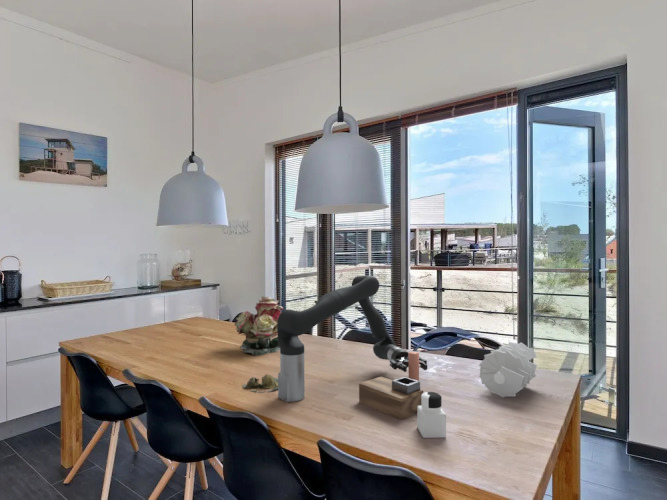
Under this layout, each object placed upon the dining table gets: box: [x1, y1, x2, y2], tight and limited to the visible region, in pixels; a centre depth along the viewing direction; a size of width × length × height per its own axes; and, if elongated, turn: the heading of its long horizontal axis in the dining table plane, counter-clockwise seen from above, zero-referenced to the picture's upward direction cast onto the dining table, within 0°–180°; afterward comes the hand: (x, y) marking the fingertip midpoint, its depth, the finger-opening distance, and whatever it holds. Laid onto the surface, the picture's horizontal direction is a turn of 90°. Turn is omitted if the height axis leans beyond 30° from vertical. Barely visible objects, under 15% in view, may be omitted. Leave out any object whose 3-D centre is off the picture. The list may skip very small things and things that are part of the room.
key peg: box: [408, 351, 420, 381], centre depth 156 cm, size 4×4×16 cm
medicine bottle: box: [416, 391, 447, 439], centre depth 123 cm, size 7×7×12 cm
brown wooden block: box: [358, 376, 424, 421], centre depth 144 cm, size 12×20×10 cm, turn 40°
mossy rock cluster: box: [242, 373, 278, 394], centre depth 167 cm, size 18×18×5 cm
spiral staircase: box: [478, 341, 538, 399], centre depth 160 cm, size 18×18×25 cm
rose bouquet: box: [234, 295, 285, 356], centre depth 225 cm, size 26×29×30 cm
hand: (416, 368), depth 154 cm, fingers open, 8 cm apart
